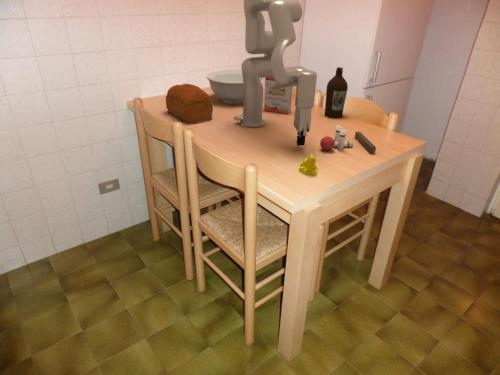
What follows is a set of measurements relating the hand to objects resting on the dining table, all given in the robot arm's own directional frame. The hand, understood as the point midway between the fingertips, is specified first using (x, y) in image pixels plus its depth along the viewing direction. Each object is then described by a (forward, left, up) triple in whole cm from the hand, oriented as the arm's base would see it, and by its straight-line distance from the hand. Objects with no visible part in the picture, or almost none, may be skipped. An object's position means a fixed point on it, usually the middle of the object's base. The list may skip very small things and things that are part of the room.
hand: (300, 144), depth 153 cm
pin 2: (+17, -2, -2) cm, 17 cm away
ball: (+11, -3, +2) cm, 11 cm away
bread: (-49, +47, -2) cm, 68 cm away
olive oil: (+28, +42, -2) cm, 51 cm away
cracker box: (-1, +51, -2) cm, 51 cm away
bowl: (-23, +74, -2) cm, 78 cm away
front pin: (+14, 0, 0) cm, 14 cm away
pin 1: (+17, +3, -2) cm, 17 cm away
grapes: (-2, -22, -2) cm, 22 cm away
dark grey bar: (+29, +1, -2) cm, 29 cm away
